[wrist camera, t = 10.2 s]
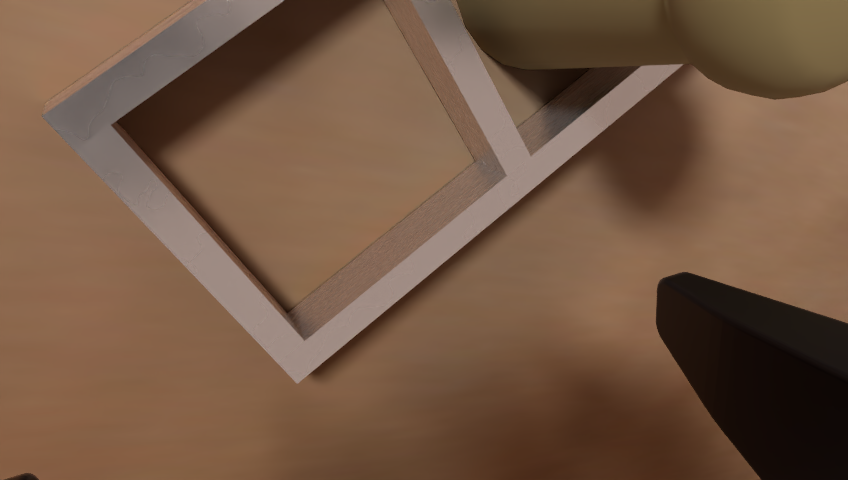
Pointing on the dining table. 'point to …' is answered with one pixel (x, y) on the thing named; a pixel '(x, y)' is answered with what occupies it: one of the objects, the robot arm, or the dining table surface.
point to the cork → (674, 38)
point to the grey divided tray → (404, 244)
